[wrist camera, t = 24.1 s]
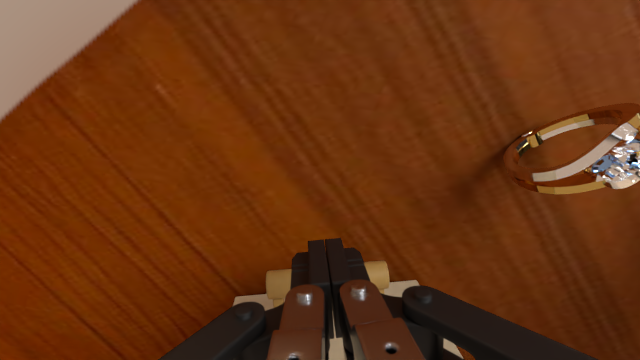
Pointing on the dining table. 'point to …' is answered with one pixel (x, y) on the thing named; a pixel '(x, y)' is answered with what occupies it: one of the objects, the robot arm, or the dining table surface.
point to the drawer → (280, 285)
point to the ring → (597, 162)
